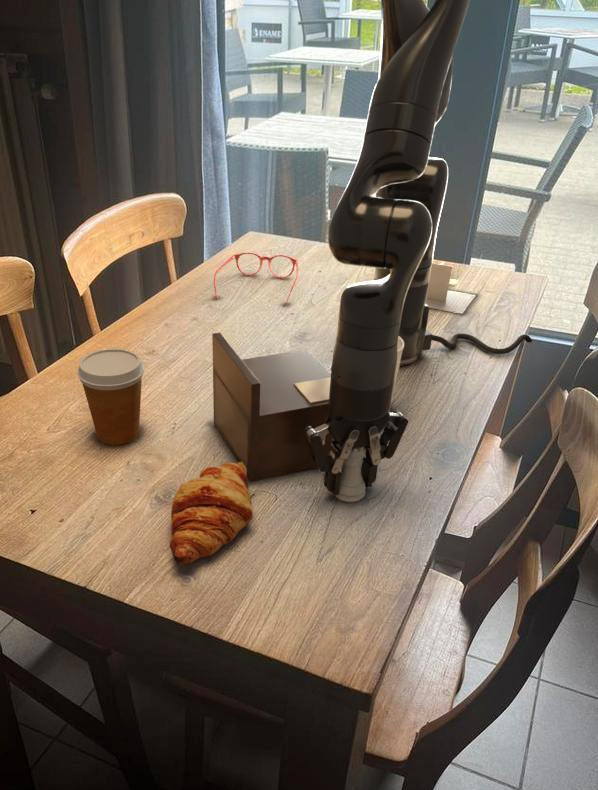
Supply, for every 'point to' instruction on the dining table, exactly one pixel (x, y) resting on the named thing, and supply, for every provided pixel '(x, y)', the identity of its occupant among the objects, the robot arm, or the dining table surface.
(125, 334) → the dining table surface
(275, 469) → the walnut shelf
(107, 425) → the disposable coffee cup
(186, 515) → the croissant
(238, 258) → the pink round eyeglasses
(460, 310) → the architectural model
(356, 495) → the rook chess piece
